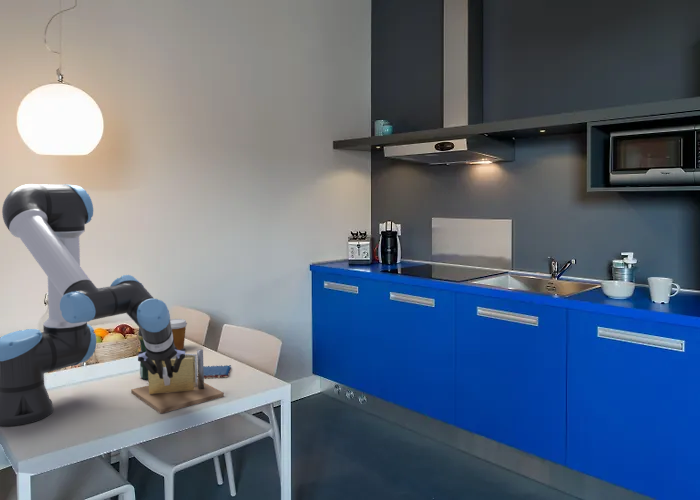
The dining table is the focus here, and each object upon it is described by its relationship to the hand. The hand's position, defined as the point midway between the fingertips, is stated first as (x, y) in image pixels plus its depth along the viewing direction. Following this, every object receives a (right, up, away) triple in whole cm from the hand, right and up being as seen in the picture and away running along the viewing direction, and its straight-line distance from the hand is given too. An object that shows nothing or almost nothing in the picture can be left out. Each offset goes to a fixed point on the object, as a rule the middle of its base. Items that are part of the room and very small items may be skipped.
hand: (167, 381), depth 169 cm
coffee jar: (-11, -4, +22) cm, 25 cm away
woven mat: (+8, -4, +24) cm, 26 cm away
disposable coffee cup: (-14, -1, +53) cm, 54 cm away
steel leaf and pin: (+2, -5, +8) cm, 10 cm away
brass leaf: (+1, -4, +2) cm, 4 cm away
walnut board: (+2, -5, +4) cm, 7 cm away
